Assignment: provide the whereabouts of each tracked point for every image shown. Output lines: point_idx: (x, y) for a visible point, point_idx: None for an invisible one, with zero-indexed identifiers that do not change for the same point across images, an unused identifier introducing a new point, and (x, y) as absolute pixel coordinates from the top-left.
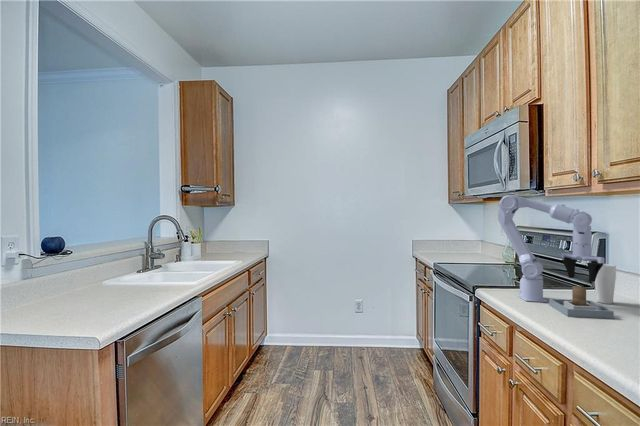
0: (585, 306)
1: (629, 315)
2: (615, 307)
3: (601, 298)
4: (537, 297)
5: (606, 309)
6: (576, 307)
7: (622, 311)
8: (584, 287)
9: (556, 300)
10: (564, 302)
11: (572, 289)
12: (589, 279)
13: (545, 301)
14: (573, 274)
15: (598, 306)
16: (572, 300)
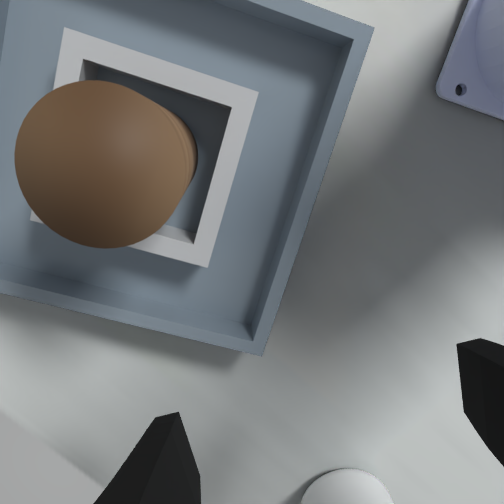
0: None
1: (51, 421)
2: (230, 478)
3: (334, 495)
4: (496, 3)
5: (8, 278)
6: (65, 58)
7: None
8: (82, 231)
9: (335, 83)
10: (242, 87)
11: (150, 100)
12: (165, 426)
13: (441, 77)
14: (492, 432)
15: (125, 305)
16: (293, 219)
